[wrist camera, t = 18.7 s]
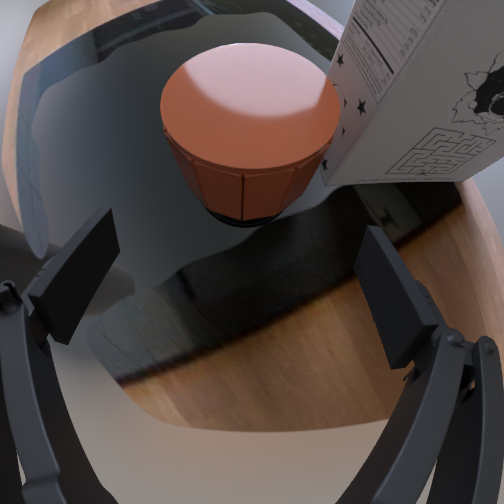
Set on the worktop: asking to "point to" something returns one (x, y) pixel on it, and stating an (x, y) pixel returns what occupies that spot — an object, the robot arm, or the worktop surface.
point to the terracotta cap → (249, 126)
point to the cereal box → (417, 92)
